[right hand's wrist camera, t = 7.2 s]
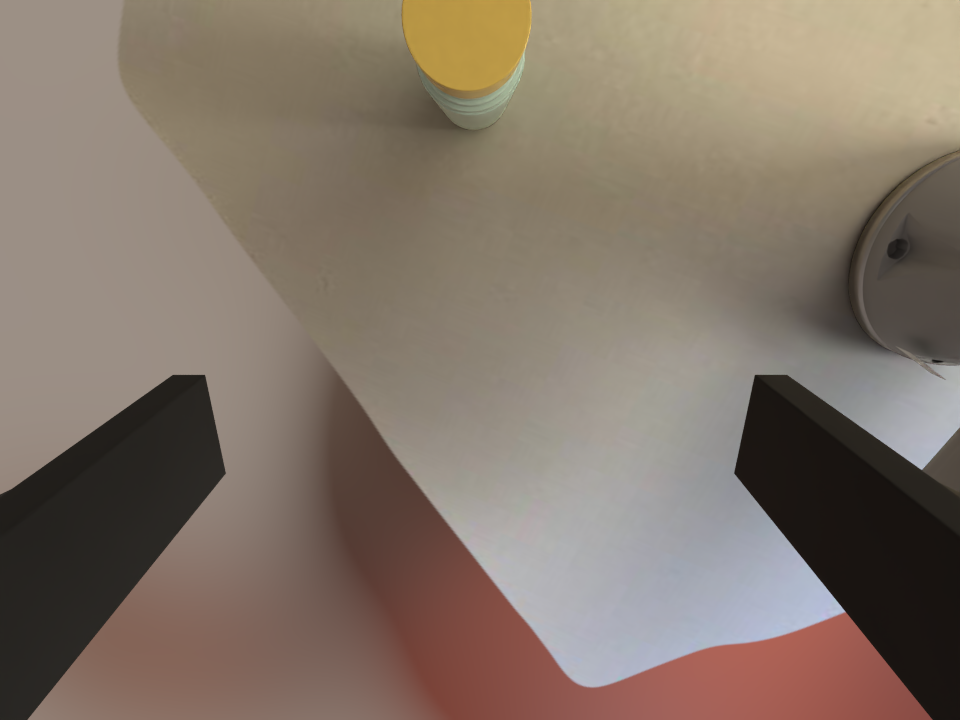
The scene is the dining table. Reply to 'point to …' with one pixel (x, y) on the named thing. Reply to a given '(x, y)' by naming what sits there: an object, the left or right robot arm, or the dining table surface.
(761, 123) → the dining table surface
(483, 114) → the bottle
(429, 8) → the cap
